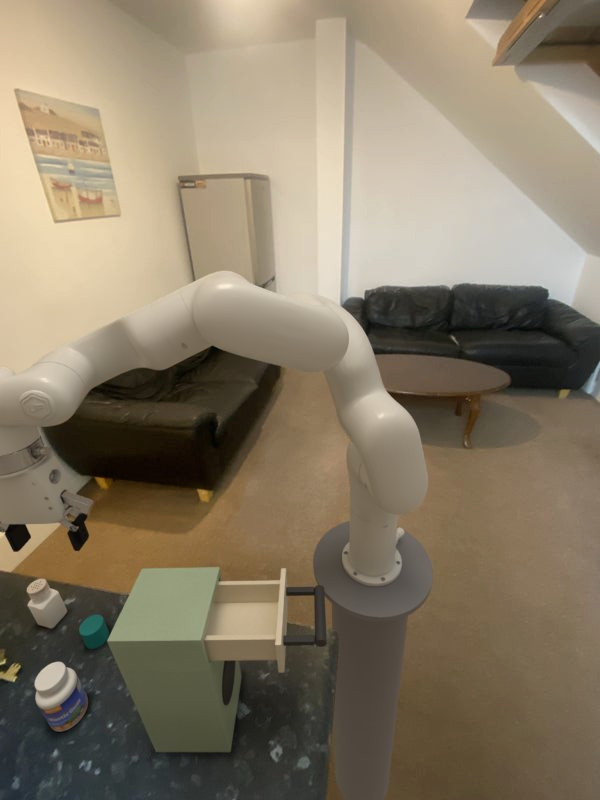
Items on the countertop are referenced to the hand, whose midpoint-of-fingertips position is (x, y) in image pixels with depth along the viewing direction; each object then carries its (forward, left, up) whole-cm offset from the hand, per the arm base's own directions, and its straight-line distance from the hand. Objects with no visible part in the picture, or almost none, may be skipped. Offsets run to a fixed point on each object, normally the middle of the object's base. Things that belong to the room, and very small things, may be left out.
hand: (52, 544), depth 59 cm
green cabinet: (-8, +25, -24) cm, 35 cm away
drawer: (-17, +33, -4) cm, 37 cm away
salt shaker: (+5, -10, -24) cm, 27 cm away
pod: (0, 0, -24) cm, 24 cm away
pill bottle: (+7, +10, -24) cm, 27 cm away
